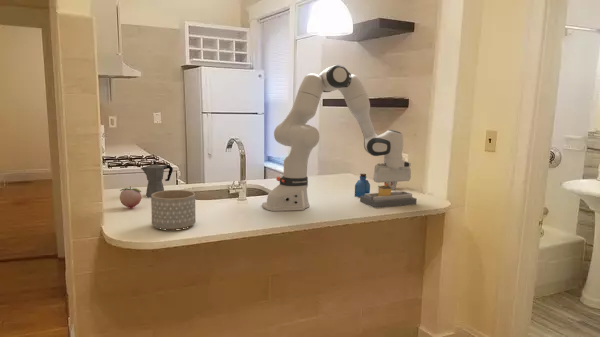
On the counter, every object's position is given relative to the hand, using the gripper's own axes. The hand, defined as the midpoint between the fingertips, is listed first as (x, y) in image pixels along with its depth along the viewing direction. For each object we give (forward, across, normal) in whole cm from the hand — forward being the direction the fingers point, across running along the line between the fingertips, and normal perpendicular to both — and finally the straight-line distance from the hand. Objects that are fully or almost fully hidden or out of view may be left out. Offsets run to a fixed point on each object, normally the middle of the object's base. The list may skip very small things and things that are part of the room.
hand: (391, 190), depth 222 cm
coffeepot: (+7, -107, +50) cm, 118 cm away
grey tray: (+6, -2, 0) cm, 7 cm away
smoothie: (+6, +21, +31) cm, 38 cm away
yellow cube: (+3, -4, 0) cm, 5 cm away
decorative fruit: (+7, -121, +27) cm, 124 cm away
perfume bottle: (+7, -6, +18) cm, 20 cm away
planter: (+7, -106, -7) cm, 107 cm away
